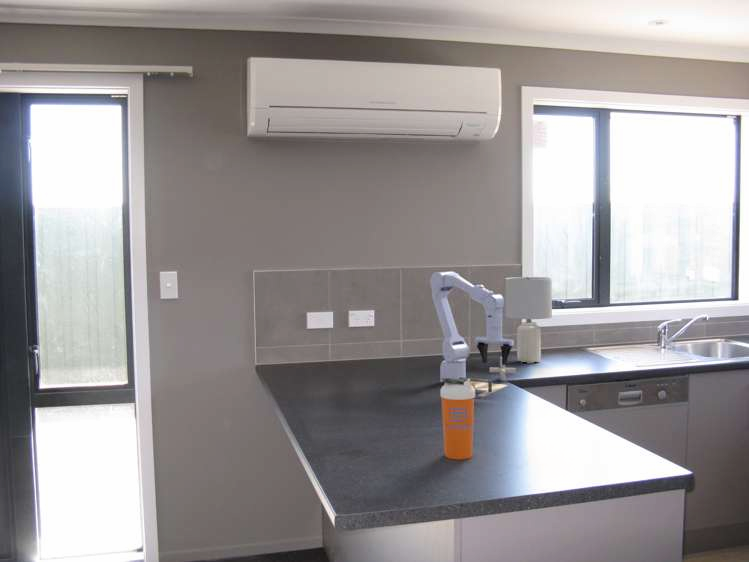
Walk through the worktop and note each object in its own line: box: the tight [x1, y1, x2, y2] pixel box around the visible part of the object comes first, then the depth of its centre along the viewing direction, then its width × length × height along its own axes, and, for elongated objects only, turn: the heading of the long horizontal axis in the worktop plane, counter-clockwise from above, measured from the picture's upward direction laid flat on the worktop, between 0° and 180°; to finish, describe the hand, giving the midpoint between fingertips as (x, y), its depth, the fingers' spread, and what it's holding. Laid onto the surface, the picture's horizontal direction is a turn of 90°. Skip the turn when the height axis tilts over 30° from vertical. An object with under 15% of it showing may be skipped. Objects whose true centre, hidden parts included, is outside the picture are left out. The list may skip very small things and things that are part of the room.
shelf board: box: [459, 377, 509, 401], centre depth 258 cm, size 14×22×5 cm, turn 146°
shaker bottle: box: [439, 377, 476, 461], centre depth 181 cm, size 9×9×20 cm
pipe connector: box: [489, 356, 517, 381], centre depth 273 cm, size 10×10×10 cm
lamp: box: [505, 276, 553, 364], centre depth 319 cm, size 20×20×39 cm
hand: (494, 363), depth 260 cm, fingers open, 7 cm apart
